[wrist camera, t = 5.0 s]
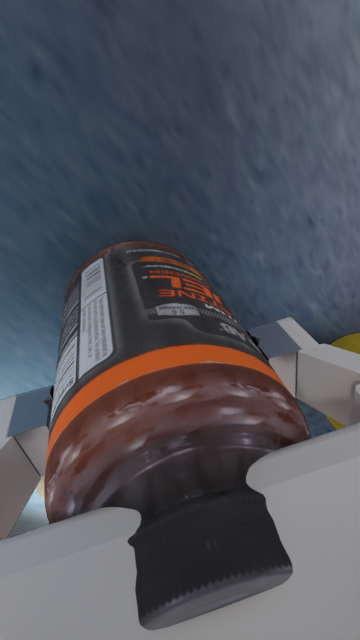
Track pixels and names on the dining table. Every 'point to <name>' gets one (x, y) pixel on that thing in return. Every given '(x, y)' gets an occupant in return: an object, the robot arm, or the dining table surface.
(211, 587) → the supplement bottle
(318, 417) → the dining table surface
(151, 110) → the dining table surface
